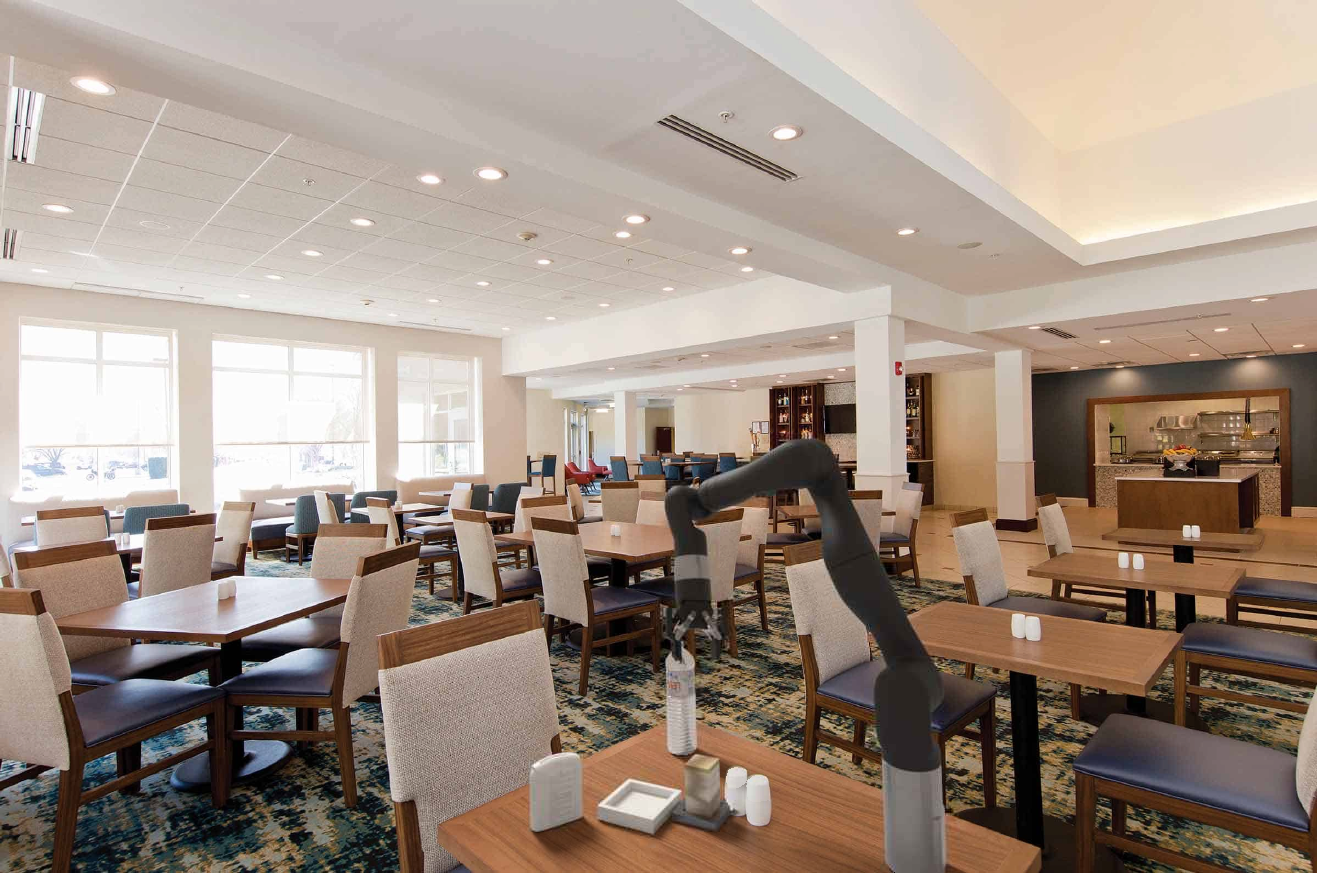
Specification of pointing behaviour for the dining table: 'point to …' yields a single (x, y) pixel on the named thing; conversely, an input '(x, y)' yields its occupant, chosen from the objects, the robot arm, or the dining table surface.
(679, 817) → the plate
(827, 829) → the dining table surface
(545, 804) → the white rounded slab
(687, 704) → the water bottle
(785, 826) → the dining table surface
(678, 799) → the tray
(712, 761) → the key block
